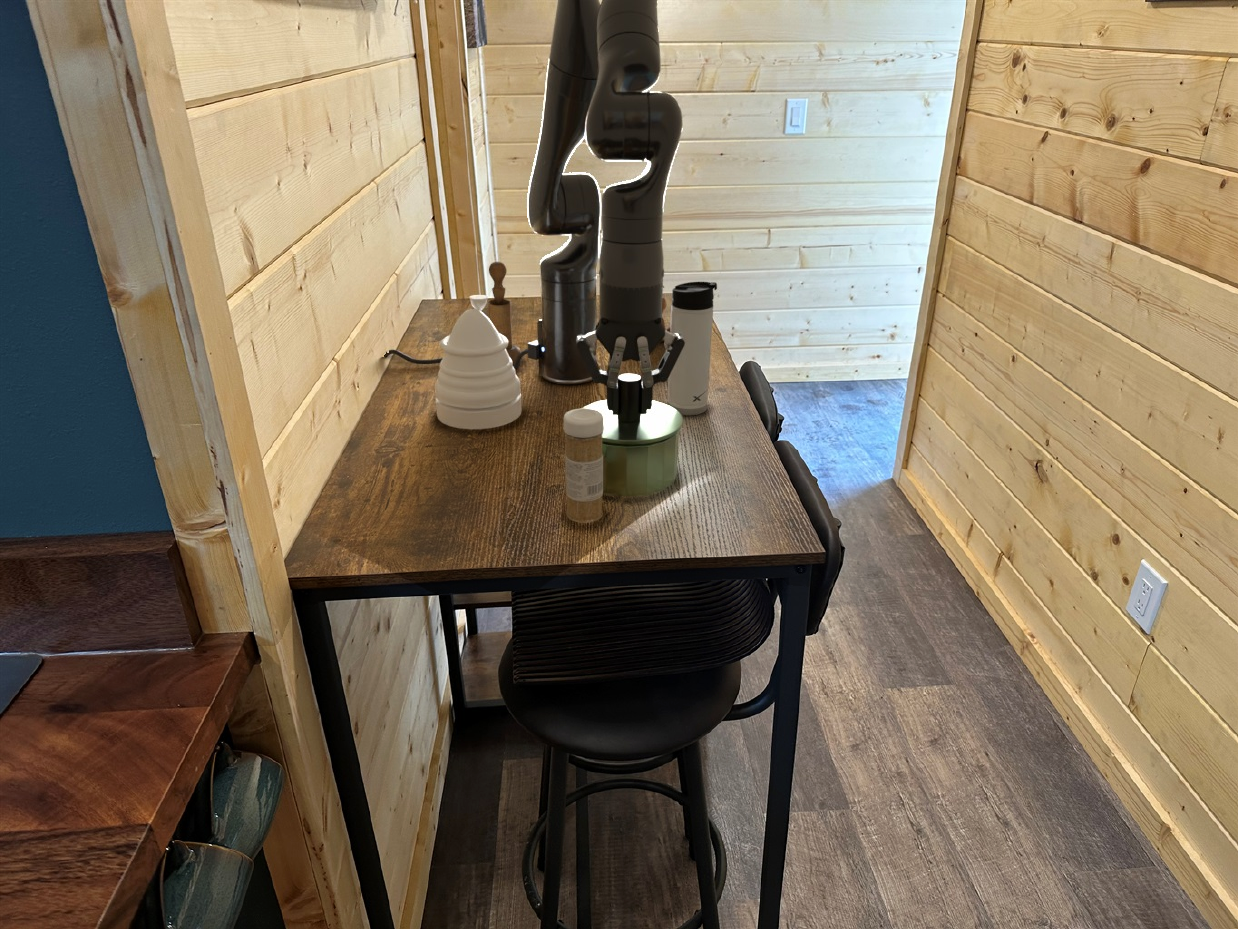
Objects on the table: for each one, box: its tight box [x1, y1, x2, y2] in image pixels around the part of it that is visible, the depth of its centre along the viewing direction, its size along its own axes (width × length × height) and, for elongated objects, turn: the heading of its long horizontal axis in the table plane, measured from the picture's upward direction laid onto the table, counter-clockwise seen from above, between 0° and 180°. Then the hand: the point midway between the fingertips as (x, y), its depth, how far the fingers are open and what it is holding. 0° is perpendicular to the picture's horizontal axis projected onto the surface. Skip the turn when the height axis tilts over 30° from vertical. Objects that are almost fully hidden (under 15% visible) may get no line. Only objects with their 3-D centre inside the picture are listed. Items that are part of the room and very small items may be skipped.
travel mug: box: [667, 281, 718, 416], centre depth 126 cm, size 6×7×20 cm
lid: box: [582, 373, 684, 444], centre depth 104 cm, size 14×14×7 cm
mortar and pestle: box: [487, 261, 522, 365], centre depth 145 cm, size 7×6×18 cm
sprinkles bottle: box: [563, 407, 604, 524], centre depth 96 cm, size 5×5×13 cm
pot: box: [602, 431, 680, 498], centre depth 108 cm, size 13×18×7 cm
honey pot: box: [434, 294, 523, 430], centre depth 123 cm, size 13×13×18 cm
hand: (628, 411), depth 105 cm, fingers closed on lid, 3 cm apart
